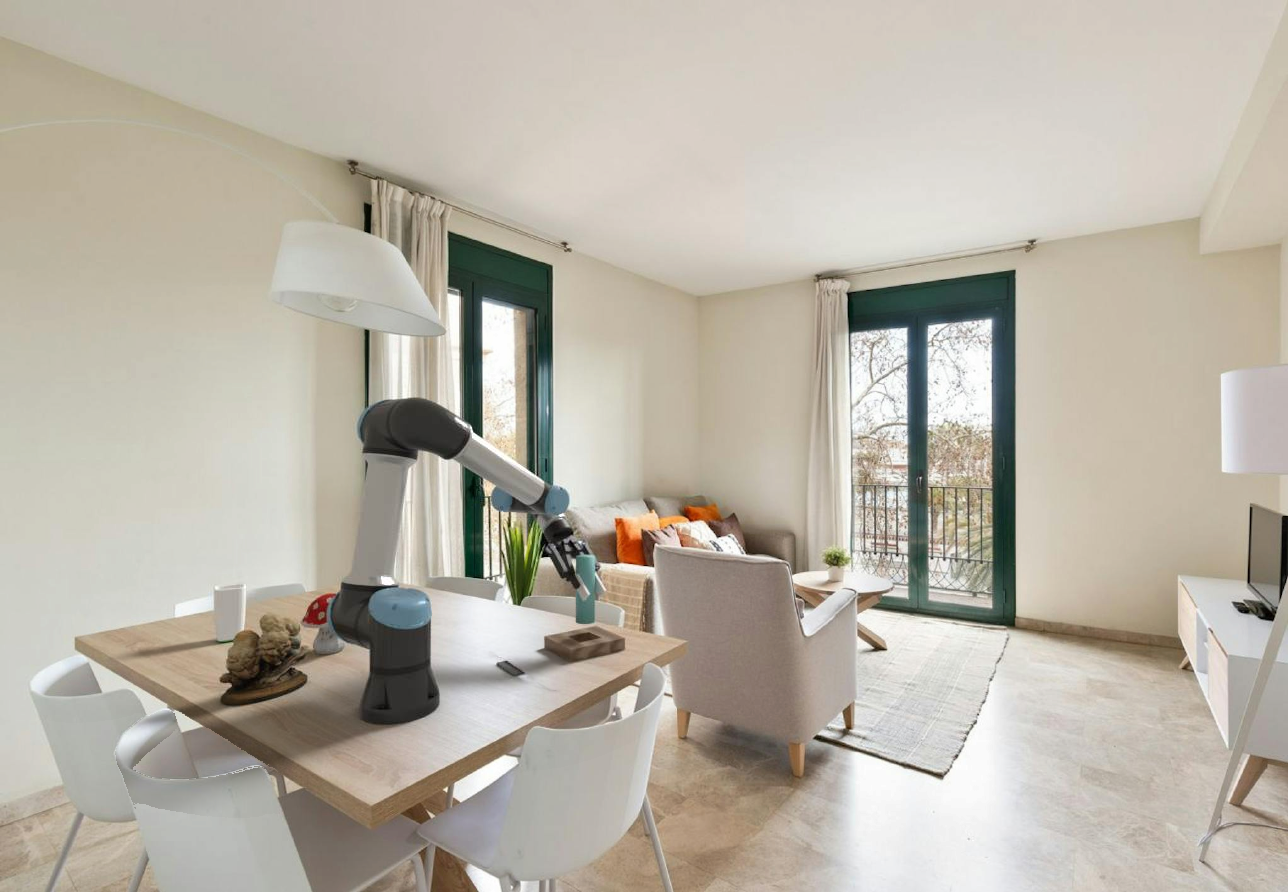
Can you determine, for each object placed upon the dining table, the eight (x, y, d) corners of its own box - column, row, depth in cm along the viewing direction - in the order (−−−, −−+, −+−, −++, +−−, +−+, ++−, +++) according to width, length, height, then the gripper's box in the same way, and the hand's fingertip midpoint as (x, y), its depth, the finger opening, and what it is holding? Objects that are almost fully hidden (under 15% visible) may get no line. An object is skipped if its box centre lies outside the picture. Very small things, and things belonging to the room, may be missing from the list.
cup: (243, 634, 177) (244, 582, 177) (246, 640, 171) (246, 587, 172) (213, 639, 173) (213, 586, 173) (214, 645, 167) (214, 590, 167)
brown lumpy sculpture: (293, 673, 145) (293, 601, 146) (323, 682, 139) (323, 607, 140) (208, 699, 130) (208, 618, 130) (238, 711, 124) (238, 626, 124)
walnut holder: (570, 666, 149) (570, 649, 149) (544, 651, 160) (544, 636, 160) (625, 653, 158) (624, 637, 158) (596, 640, 170) (596, 625, 170)
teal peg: (581, 625, 156) (582, 558, 157) (572, 621, 160) (572, 555, 161) (598, 622, 159) (598, 556, 160) (588, 618, 163) (588, 554, 164)
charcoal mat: (513, 676, 142) (513, 674, 142) (496, 664, 150) (496, 662, 150) (552, 667, 148) (552, 665, 148) (533, 656, 156) (533, 654, 156)
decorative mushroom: (369, 648, 164) (369, 592, 164) (317, 663, 152) (317, 602, 152) (341, 639, 172) (341, 586, 172) (289, 653, 160) (289, 595, 160)
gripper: (574, 532, 177) (613, 598, 166) (522, 538, 164) (560, 610, 153) (586, 515, 174) (627, 581, 162) (534, 520, 161) (574, 592, 149)
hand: (594, 595), depth 157 cm, fingers closed on teal peg, 5 cm apart
